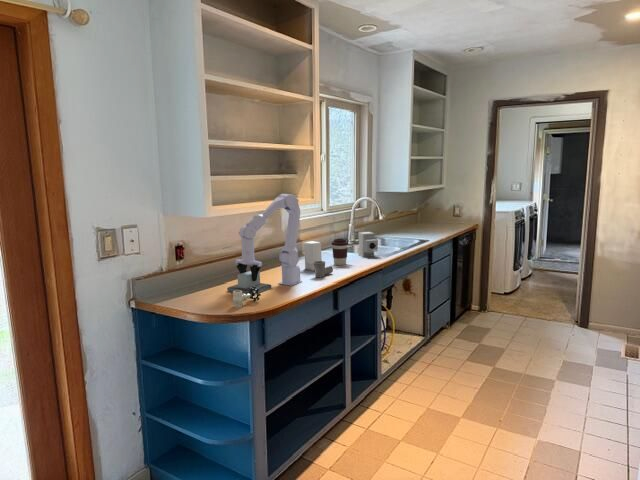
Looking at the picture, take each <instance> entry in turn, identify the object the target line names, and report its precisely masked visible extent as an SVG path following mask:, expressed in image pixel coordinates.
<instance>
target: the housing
mask: <svg viewBox="0 0 640 480" xmlns="http://www.w3.org/2000/svg"><path fill="white" fill-rule="evenodd" d="M260 283H261V272H260V271H259V272H258V275H257V280H256V281H252V273H251V270H249V271H246V272H245V273H242V274H240V273H239V274H237V284H238V288H245V289H247V288H250V287H253V286H256V285H258V284H260Z"/></svg>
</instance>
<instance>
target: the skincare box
mask: <svg viewBox="0 0 640 480" xmlns="http://www.w3.org/2000/svg"><path fill="white" fill-rule="evenodd" d="M303 249H304V250H303V252H304V269H305V270H307V271H308V270H309V271H313V272H315V268H314V265H313V262H315V261H323V259H322V242H320V241H313V240H311V241H306V242H303Z"/></svg>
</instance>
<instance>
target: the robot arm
mask: <svg viewBox="0 0 640 480" xmlns="http://www.w3.org/2000/svg"><path fill="white" fill-rule="evenodd" d="M279 209H284V210H285V211H286V212H287V213H288V220H287V226H286V233H285V241H284V246H283V247H282V248H281V252H280V254H279V256H278V259H279V262H280V263H281V281H280V282H278V285H285V286H291V287H292V286H295V285H297V284H299V283H303V281H302V279H301V268H300V265H298V264H299V251H298V248H297V241H298V240H297V239H298V232H299V225H300V220H301V219H300V218H301V207H300V204H299V199H298V198H297V196H296V195H295V194H291V193H290V194H289V193H281V194H279V195H278V196H277V197H275V198H274V200H273V201H272V202H271V203H270V204H269V205H268V206H267V207H266V208H265V210H263V211H262V212H261V214H259V213H258V214H254V215H253V216H252V219H251V220H249V221H248V222H246V223H245V225H242V226H241V227H240V229H239V231H238V234H239V237H240V239H241V259H239V258H238V259H235V265H236V269H237V270H238V272H239V274H242V273H245V272H247V268H248V266H249V269H250V271H251V273H252V281H256V280H257V275H258V272H260V270H261V268H262V266H263V261H259V260H256V259H255V240H254V239H255V237H256V234H257V232H258V231H259V230H260V229H262V228H263V227H264V226H265V225H266V224H267V223H266V222H267V219H268V218H269V217H271V216H272V215H273V214H275V212H277V211H278V210H279Z"/></svg>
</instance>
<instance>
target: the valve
mask: <svg viewBox="0 0 640 480" xmlns="http://www.w3.org/2000/svg"><path fill="white" fill-rule="evenodd" d="M249 289H250V290H251V291H249V292H248V294H242V291H241V290H235V291H233V292H232V295H233V296H232V302H233V307H234V308H235V309H240V308H242V307H243V306H244V304H243V302H244V301H247V299H250V300H252V301H253V302H256V301H259V300H260V297H261V292H260V293H258V291H259V289H256V287H255V286H254V287H253V288H252V287H251V288H249ZM253 290H255V291H256V292H252V291H253ZM256 293H257V294H256Z"/></svg>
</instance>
